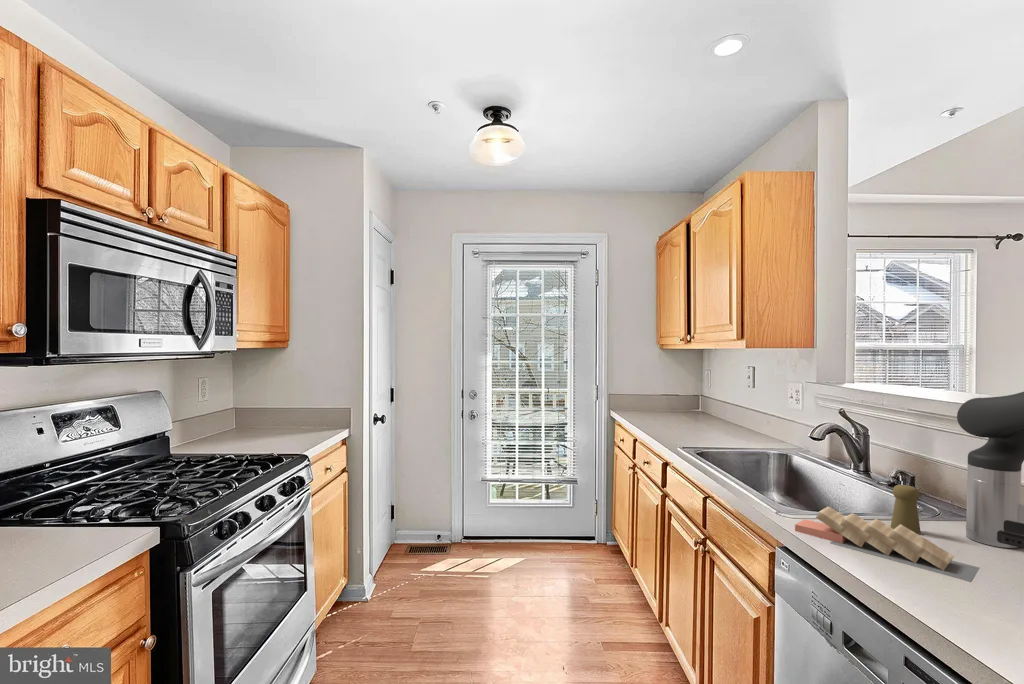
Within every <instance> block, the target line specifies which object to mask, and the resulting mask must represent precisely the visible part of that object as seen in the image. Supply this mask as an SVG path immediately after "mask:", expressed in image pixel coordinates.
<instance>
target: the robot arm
mask: <svg viewBox="0 0 1024 684" xmlns="http://www.w3.org/2000/svg"><path fill="white" fill-rule="evenodd" d="M956 420H957V423H958V425H959V426H960V428H961V429H962V430H963V431H965V433H967V434H970V435H972V436H974V437H979V438H985V439H986V438H987V441H986V443H985V444H984V445H981V446H980V447H978V448H975V449H973V450H970V451H969V452H968V453H967V471H966V472H967V474H966V477H967V481H966V518H965V519H966V520H965V521H966V522H965V523H966V525H965V530H966V531H965V535H966V537H967V538H968V539H970V540H972V541H975V542H977V543H981V544H984V545H988V546H993V547H999V548H1006V549H1008V548H1009V549H1015V548H1016V549H1018V548H1022V549H1024V504H1023V503H1022V499H1021V498H1022V467H1023V463H1024V391H1021V392H1017V393H1014V394H1009V395H1002V396H1001V395H999V396H992V397H990V396H989V397H973V398H971V399H968V400H965V402H963V404H962V405H961V406H960V407H959V408H958V410H957V413H956Z"/></svg>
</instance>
